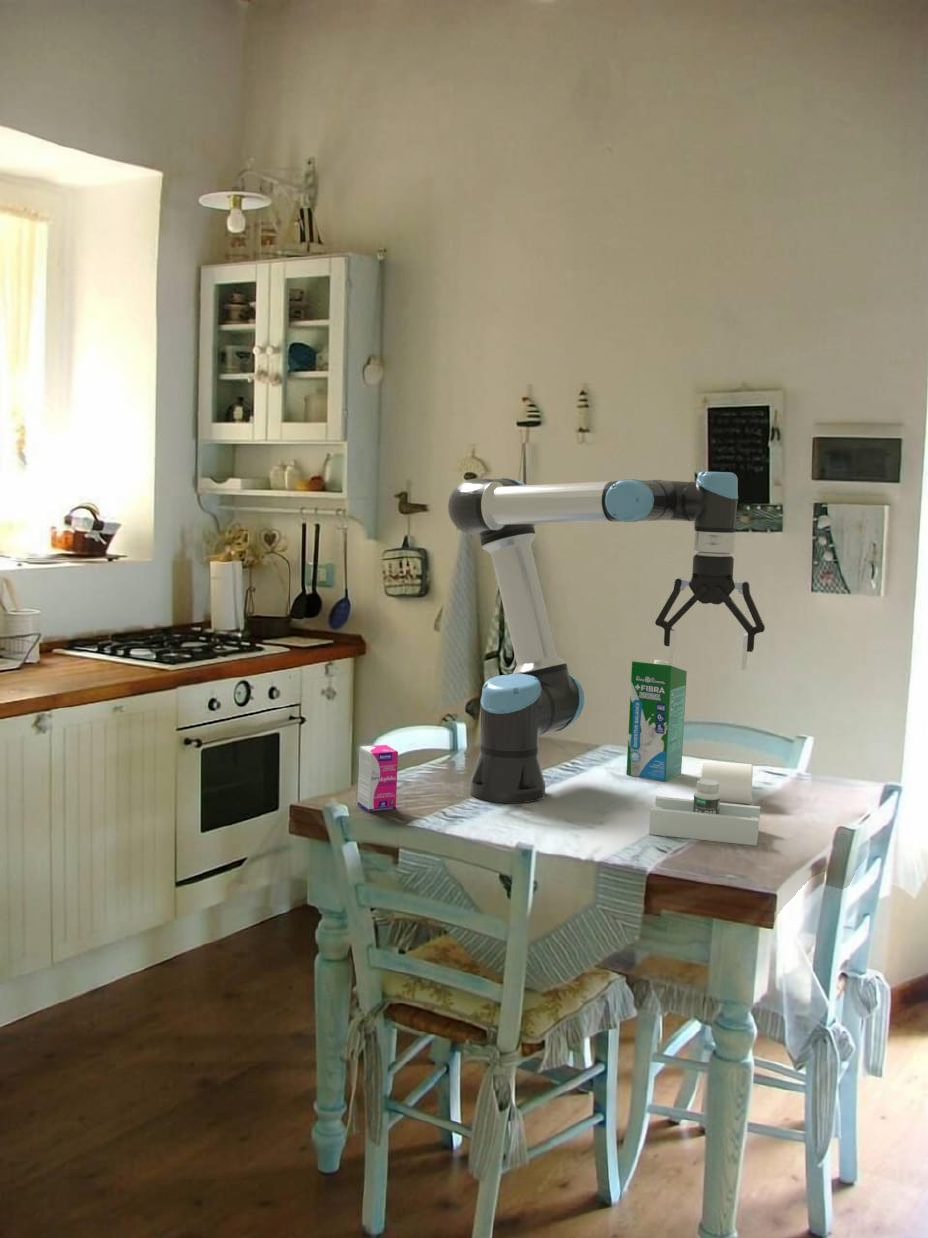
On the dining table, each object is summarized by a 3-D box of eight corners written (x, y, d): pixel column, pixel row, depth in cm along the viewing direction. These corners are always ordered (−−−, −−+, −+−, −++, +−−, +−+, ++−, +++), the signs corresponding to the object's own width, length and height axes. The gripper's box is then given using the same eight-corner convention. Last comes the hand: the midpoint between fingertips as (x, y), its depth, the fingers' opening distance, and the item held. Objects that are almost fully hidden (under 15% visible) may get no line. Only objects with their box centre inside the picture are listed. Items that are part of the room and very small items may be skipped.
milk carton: (681, 773, 269) (687, 660, 266) (664, 781, 262) (671, 665, 259) (643, 767, 274) (649, 655, 271) (626, 774, 267) (631, 660, 264)
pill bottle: (689, 828, 224) (692, 783, 223) (694, 822, 228) (697, 777, 227) (716, 832, 222) (718, 786, 221) (720, 825, 227) (723, 780, 226)
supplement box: (368, 812, 231) (370, 752, 230) (356, 804, 237) (358, 746, 235) (397, 809, 234) (398, 750, 233) (384, 801, 239) (386, 743, 238)
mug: (750, 809, 243) (753, 769, 242) (699, 804, 245) (701, 765, 244) (749, 794, 254) (751, 756, 253) (700, 790, 256) (702, 752, 255)
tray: (648, 834, 223) (650, 809, 223) (655, 819, 233) (656, 796, 232) (756, 845, 218) (758, 821, 218) (758, 830, 228) (760, 806, 227)
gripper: (644, 552, 232) (639, 664, 234) (781, 558, 225) (774, 673, 228) (649, 550, 239) (644, 658, 241) (782, 556, 232) (775, 668, 235)
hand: (707, 666), depth 235 cm, fingers open, 13 cm apart
